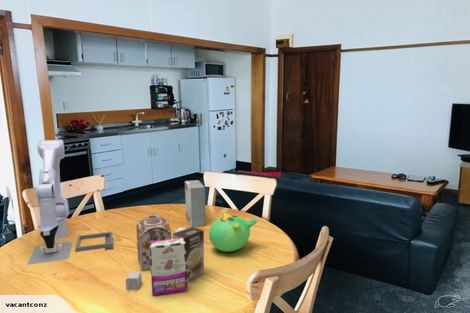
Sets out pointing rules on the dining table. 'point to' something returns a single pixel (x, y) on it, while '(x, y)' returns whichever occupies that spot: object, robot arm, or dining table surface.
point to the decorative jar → (150, 237)
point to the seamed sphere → (180, 229)
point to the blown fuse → (53, 247)
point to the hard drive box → (195, 203)
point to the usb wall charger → (133, 280)
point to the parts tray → (107, 245)
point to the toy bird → (230, 232)
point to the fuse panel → (41, 256)
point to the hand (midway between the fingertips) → (51, 246)
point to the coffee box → (193, 251)
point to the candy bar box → (168, 266)
